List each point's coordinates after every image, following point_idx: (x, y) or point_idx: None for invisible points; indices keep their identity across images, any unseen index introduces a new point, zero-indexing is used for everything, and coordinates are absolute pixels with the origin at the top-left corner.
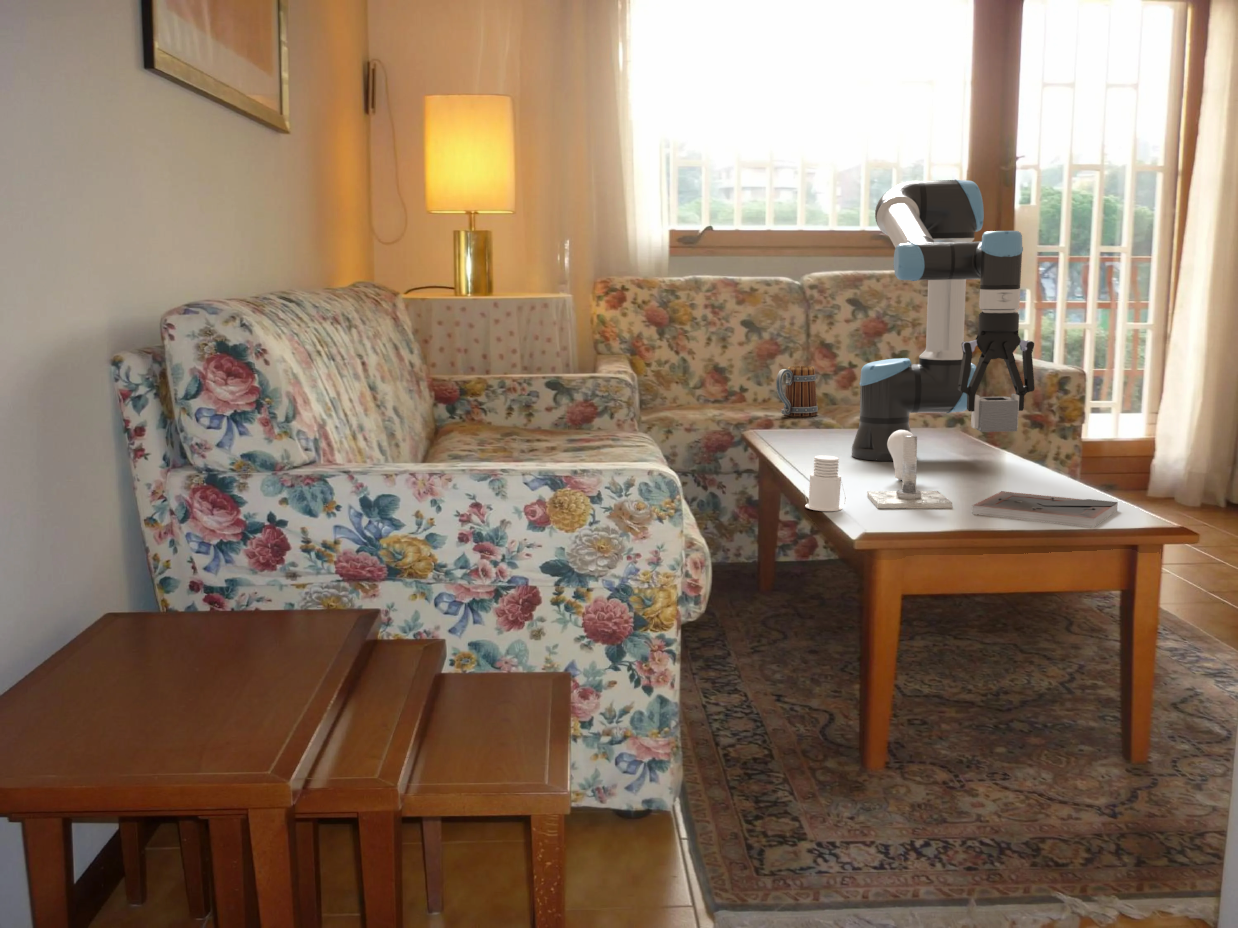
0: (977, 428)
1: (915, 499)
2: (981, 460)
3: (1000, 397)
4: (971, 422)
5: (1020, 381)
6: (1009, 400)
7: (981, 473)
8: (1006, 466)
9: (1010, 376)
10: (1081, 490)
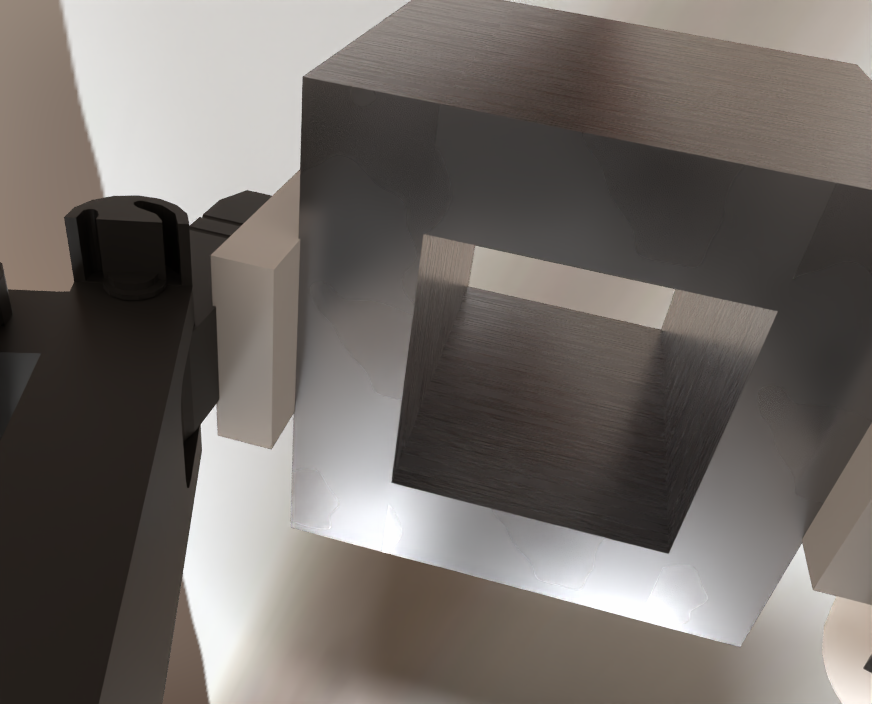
0: None
1: None
2: (316, 673)
3: (414, 494)
4: None
5: (46, 413)
6: (430, 172)
7: None
8: (266, 576)
9: (163, 688)
10: (95, 38)
